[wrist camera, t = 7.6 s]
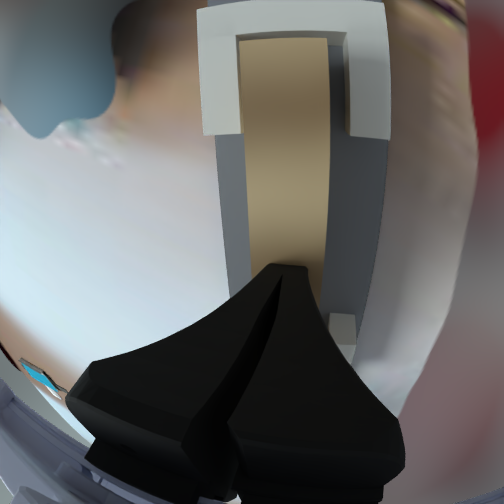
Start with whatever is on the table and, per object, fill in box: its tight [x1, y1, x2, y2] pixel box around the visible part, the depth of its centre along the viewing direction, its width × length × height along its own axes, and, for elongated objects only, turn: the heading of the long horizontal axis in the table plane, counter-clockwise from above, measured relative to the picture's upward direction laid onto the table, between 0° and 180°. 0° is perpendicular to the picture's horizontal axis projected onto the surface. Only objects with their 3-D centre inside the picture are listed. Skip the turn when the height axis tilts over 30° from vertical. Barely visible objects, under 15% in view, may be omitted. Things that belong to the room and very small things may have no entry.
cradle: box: [197, 0, 391, 365], centre depth 13 cm, size 26×8×4 cm, turn 3°
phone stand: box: [19, 358, 68, 400], centre depth 44 cm, size 20×12×2 cm, turn 98°
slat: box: [239, 38, 330, 309], centre depth 12 cm, size 16×2×5 cm, turn 3°
